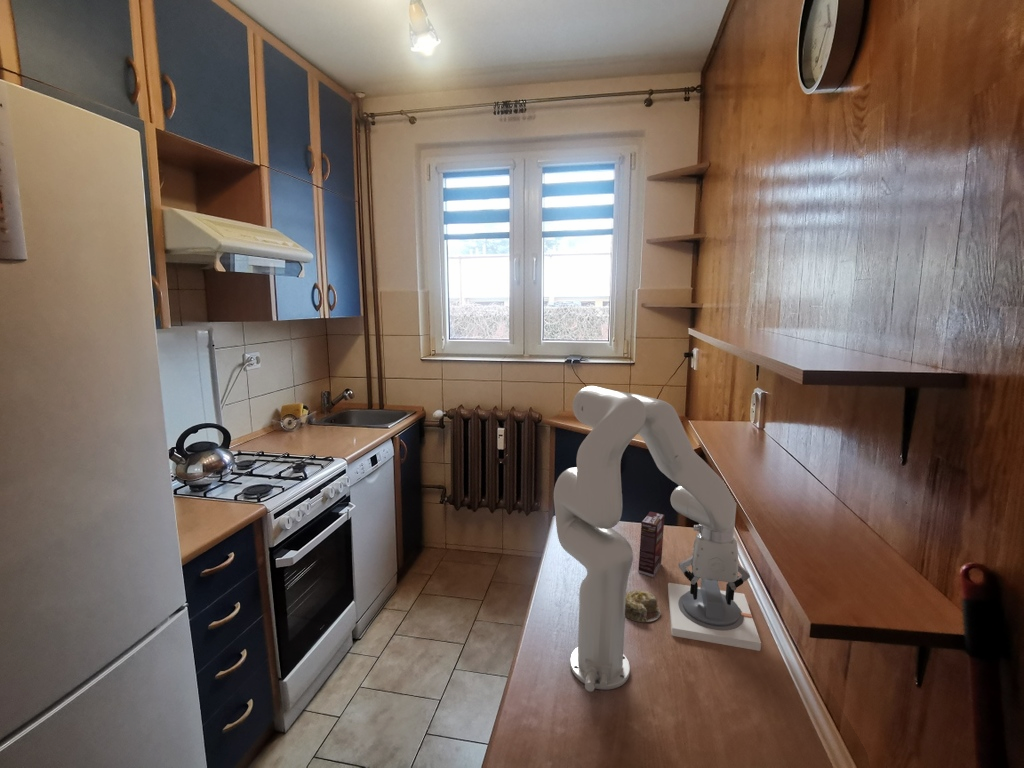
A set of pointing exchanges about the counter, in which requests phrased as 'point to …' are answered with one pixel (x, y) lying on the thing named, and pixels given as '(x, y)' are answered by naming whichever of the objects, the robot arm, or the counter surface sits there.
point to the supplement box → (651, 544)
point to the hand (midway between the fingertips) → (711, 598)
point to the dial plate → (691, 628)
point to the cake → (641, 606)
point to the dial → (711, 605)
